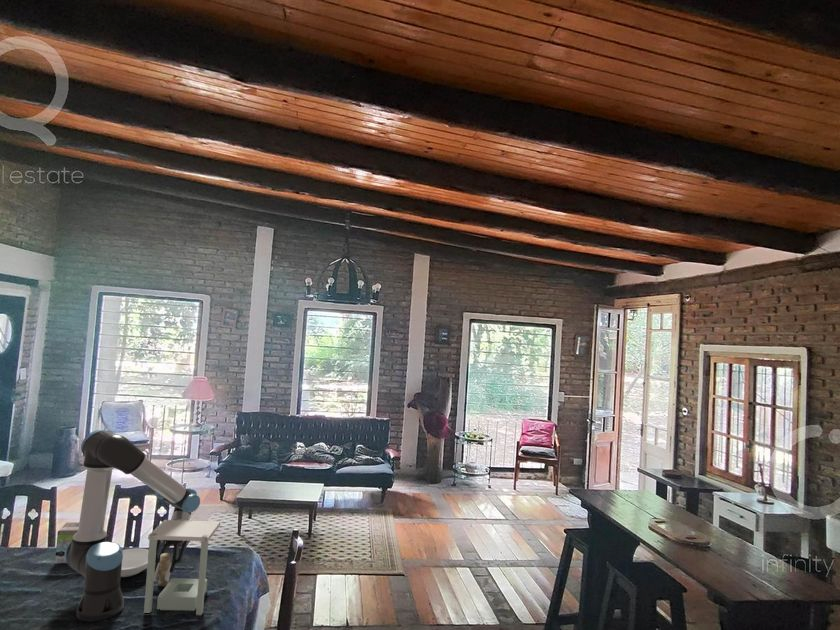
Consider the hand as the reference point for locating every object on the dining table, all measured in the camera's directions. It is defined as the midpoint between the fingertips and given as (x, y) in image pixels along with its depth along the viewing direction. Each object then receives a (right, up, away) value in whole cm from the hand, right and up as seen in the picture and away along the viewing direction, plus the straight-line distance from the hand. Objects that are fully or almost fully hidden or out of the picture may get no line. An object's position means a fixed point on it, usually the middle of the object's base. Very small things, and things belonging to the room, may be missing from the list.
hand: (160, 580), depth 210 cm
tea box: (-47, -1, +20) cm, 51 cm away
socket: (+13, -4, -9) cm, 16 cm away
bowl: (-19, -2, +10) cm, 22 cm away
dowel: (-1, -3, +4) cm, 5 cm away
